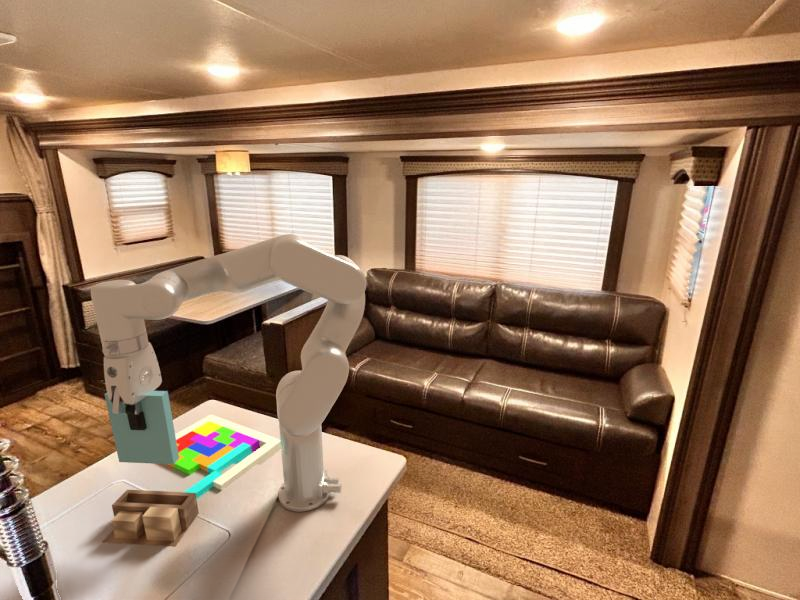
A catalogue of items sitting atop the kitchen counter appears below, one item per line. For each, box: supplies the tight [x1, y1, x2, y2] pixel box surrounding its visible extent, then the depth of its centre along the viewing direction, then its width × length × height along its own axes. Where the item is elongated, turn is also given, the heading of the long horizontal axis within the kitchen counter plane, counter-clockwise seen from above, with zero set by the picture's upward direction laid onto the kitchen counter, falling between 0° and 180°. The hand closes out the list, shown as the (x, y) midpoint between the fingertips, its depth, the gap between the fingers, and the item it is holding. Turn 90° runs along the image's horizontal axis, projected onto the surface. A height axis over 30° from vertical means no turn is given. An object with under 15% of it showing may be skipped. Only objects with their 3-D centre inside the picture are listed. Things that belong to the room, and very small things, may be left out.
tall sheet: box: [104, 390, 179, 465], centre depth 87 cm, size 12×2×16 cm, turn 86°
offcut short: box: [111, 511, 145, 539], centre depth 89 cm, size 5×3×4 cm, turn 86°
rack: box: [101, 489, 199, 547], centre depth 90 cm, size 16×9×6 cm, turn 86°
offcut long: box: [142, 507, 181, 541], centre depth 88 cm, size 6×3×6 cm, turn 86°
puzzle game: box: [166, 413, 281, 500], centre depth 114 cm, size 30×3×30 cm
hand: (142, 425), depth 87 cm, fingers closed on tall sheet, 2 cm apart
